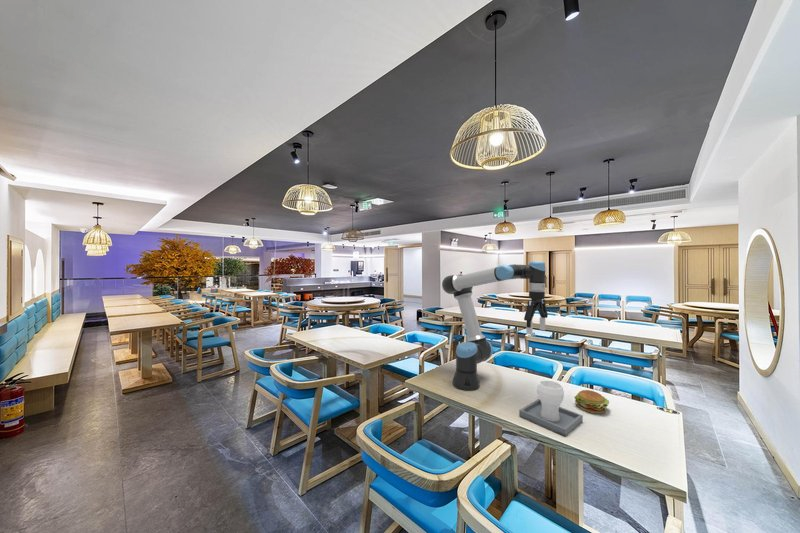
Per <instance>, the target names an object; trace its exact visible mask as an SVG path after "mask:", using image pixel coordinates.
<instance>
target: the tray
mask: <svg viewBox="0 0 800 533" xmlns="http://www.w3.org/2000/svg"><path fill="white" fill-rule="evenodd" d="M541 409H542V404H541V401H540V399H539V398H538V399H535V400H534V401H533V402H531V403H529V404H527V405H526V406H524V407H522V408H520V409H519V412H518V413H519V415H518V417H519V416H520V417H519V418H521V419H524V420H526V419H527V420H526V421H528V420H529V422H531V423H533V424H535V425H538V426H540V427H542V428H544V429H546V430H549V431H551V432H553V433H556V434H558V435H560V436H563V437H567V436H568V435H569V434H571V432H573V431H574V430H575V429H576V428H577V427H578V426H580V425H581V424H582V423H583V421H584V420H583V416H584V415H582V414H580V413H577V412H576V411H571V410H569V409H566V408H564V407H562V406H559V418H560V419H559V421H556V422H552V421H548V420H545V419H543V418H542V417H541V415H540V414H541Z"/></svg>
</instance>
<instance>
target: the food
mask: <svg viewBox="0 0 800 533" xmlns="http://www.w3.org/2000/svg"><path fill="white" fill-rule="evenodd" d="M573 398H574V403H575V404H576V406H577V407H578V408H579V409H580V410H582V411H585V412H588V413H589V414H590V413H591V414H604V413H605V412H606V409H607V407H608V406H609V404H610V401H609V400H608V399H607V398H606V397H605V396H603V395H602V394H600V392H597V391H595V390H590V389H589V390H588V389H582V390H581V391H578V393H577V394H576V395H575V396H574V397H573Z"/></svg>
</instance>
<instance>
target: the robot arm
mask: <svg viewBox="0 0 800 533" xmlns="http://www.w3.org/2000/svg"><path fill="white" fill-rule="evenodd" d="M546 271H547V270H546V262H545V261H541V260H539V261H537V260H534V261H532V260H531V261H529V264H513V263H512V264H502V265H499V266H497V267H496V266H495V267H491V268H488V269H487V268H486V269H483V270H478V271H475V272H471V273H470V272H469V273H466V274H454V275H453V274H452V275H451V274H450V275H447V276H445V277H444V278H443V280H442V282H441V287H442V289H443V291H444V292H445V293H446V294H449V295H453V298H454V299H456V300H457V304H458V307H459V309H460V314H461V317H462V322H463V325H464V328H465V331H466V334H467V340H466V341H463V342H459V343H458V344H457V345H456V350H455V356H456V357H455V373H454V375H453V379H452V385H453V387H455V388H457V389H458V390H463V391H476V390H478V389H479V388H480V386H481V382H480V380H479V376H478V369H477V368H478V364H481V363H482V362H486V361H487V360H489V359H490V358H491V357H492V356H493V351H494V349H493V345H492V344H491V343H490V342H489V341H488V340H487V338H486V336H485V335H483V332H482V330H481V326H480V324H479V319H478V316H477V313H476V309H475V306H474V302H473V299H472V295H473V291H472V290H473V288H474V287H478V286H481V285H487V284H492V283H497V282H504V281H509V280H516V279H520V280H529V281H528V290H529V291H528V298H529V299H531V300H528V301H527V305H526V310H525V314H524V318H523V320H524V321H526V330H525V331H526V334H529V335H533V324H534V322H533V319H534V315H535V313H536V311H538V315H539V316H540V317H539V327H538V329H539V330H541V331H546V319H547V318H548V317H549V315H548V309H547V305H546V299H545V298H546V292H545V291H546Z"/></svg>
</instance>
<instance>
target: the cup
mask: <svg viewBox="0 0 800 533" xmlns="http://www.w3.org/2000/svg"><path fill="white" fill-rule="evenodd" d="M537 395H538V399H540V401H541V404H542V409H541V414H540V415H541V417H542V418H543V419H545V420H548V421H552V422H556V421H559V419H560V418H559V407H561V404H562V403H563V401H564V398H565V390H564V387H563V385H562V384H561V383H559V382H557V381H554V380H549V379H547V380H546V379H545V380H544V379H543V380H540V381H538V385H537Z"/></svg>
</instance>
